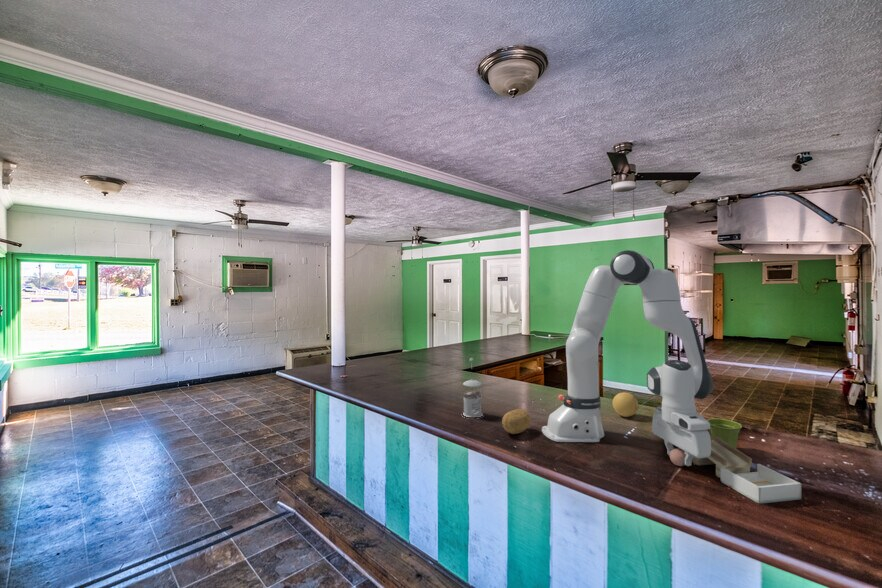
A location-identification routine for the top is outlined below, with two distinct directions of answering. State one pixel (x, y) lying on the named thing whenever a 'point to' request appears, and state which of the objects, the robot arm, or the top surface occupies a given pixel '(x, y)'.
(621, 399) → the stress ball
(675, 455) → the rubber ball
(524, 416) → the potato
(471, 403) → the french press
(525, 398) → the top surface
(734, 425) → the plant pot
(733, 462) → the launch ramp
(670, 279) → the robot arm
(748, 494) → the tray
